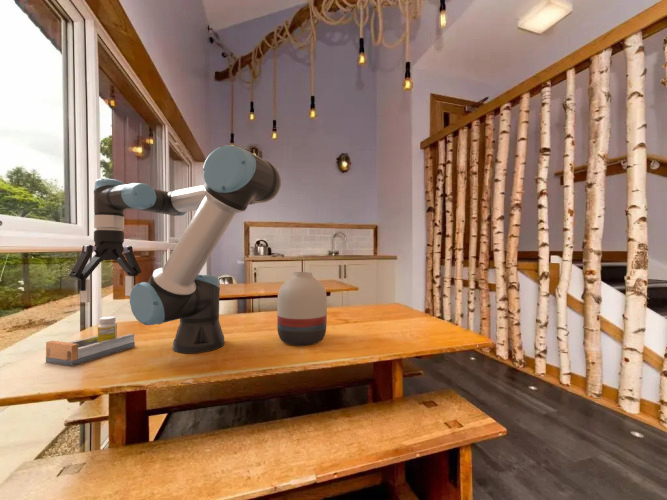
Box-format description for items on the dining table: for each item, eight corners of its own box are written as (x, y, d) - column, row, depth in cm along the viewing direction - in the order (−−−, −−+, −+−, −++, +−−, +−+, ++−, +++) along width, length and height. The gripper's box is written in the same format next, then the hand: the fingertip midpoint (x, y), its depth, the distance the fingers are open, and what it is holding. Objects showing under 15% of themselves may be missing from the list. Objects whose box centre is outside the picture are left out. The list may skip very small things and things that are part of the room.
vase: (315, 351, 94) (316, 274, 94) (267, 345, 99) (268, 273, 100) (333, 336, 110) (333, 271, 110) (291, 332, 115) (291, 270, 116)
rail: (134, 346, 97) (134, 329, 97) (71, 366, 80) (71, 345, 80) (111, 343, 100) (111, 326, 100) (45, 362, 83) (46, 342, 83)
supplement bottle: (104, 342, 96) (104, 316, 96) (120, 342, 96) (120, 315, 96) (93, 347, 91) (94, 319, 91) (110, 347, 91) (110, 319, 91)
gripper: (136, 233, 107) (136, 293, 107) (53, 227, 83) (52, 304, 83) (153, 232, 105) (153, 294, 104) (72, 226, 81) (72, 305, 81)
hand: (108, 298), depth 94 cm, fingers open, 13 cm apart
